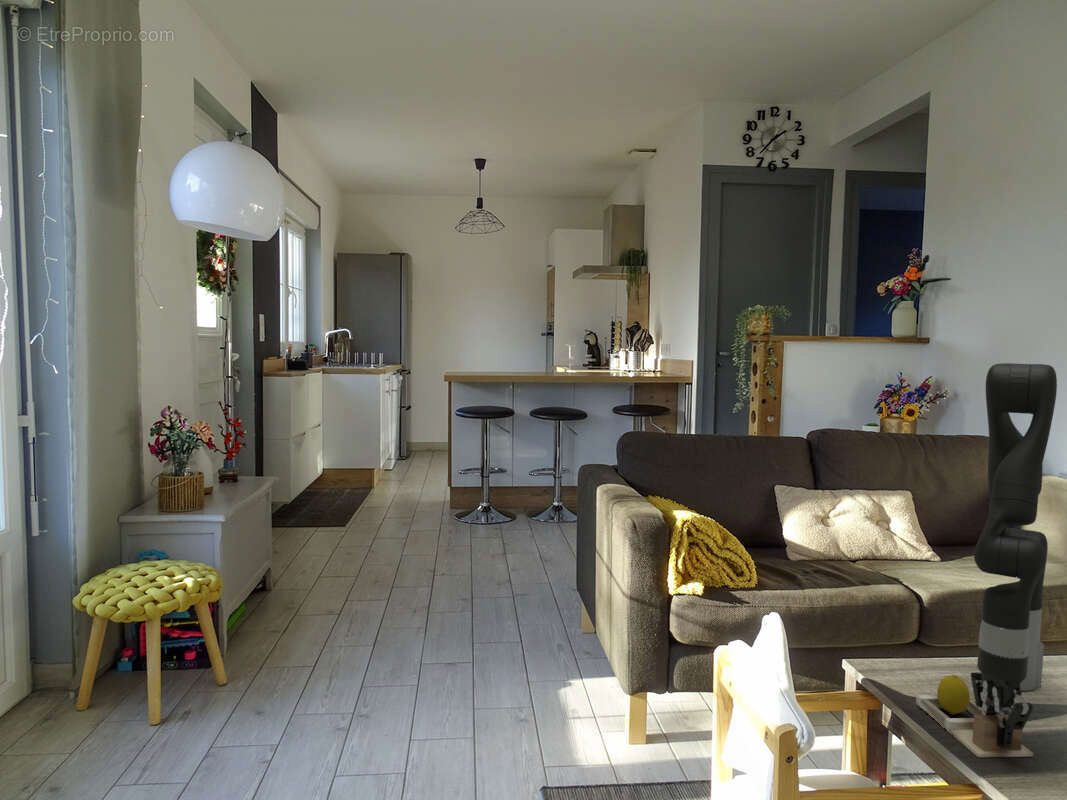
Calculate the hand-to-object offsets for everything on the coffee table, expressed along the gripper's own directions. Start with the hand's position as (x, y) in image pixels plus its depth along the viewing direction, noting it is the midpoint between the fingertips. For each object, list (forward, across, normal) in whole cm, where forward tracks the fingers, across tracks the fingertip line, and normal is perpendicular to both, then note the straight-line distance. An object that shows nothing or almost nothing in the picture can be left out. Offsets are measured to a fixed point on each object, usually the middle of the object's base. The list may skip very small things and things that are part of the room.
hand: (996, 741), depth 138 cm
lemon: (+2, +13, 0) cm, 13 cm away
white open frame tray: (+2, +6, 0) cm, 7 cm away
